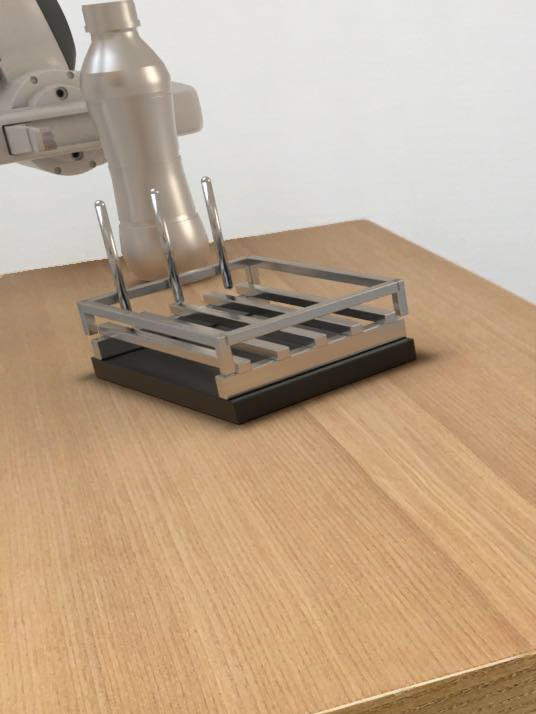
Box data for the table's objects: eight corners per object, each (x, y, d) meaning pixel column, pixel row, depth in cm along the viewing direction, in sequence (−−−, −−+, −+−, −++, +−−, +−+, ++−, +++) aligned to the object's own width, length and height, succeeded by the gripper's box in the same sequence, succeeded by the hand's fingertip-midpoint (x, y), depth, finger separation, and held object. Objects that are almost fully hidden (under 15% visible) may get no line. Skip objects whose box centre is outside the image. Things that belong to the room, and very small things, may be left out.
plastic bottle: (186, 289, 92) (119, 1, 84) (111, 291, 94) (39, 10, 86) (231, 268, 98) (173, -6, 89) (160, 269, 100) (96, 3, 91)
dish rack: (95, 376, 74) (49, 208, 69) (263, 323, 81) (231, 168, 77) (238, 424, 63) (194, 229, 59) (417, 358, 70) (390, 180, 66)
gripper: (-78, 102, 102) (-43, 108, 91) (160, 68, 111) (216, 70, 101) (-55, 180, 104) (-18, 194, 94) (176, 140, 114) (232, 149, 104)
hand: (105, 129), depth 97 cm, fingers open, 8 cm apart
